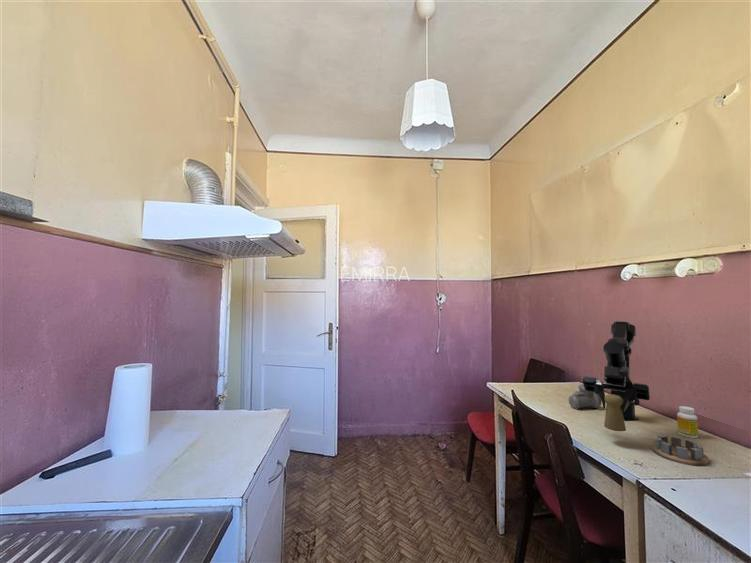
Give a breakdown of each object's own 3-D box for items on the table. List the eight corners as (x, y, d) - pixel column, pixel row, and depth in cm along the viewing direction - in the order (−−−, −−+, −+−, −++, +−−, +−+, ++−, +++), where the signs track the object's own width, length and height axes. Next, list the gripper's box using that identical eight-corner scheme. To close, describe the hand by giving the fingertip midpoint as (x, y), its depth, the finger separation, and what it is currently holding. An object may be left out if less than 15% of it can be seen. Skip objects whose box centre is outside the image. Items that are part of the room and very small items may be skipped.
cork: (626, 432, 108) (625, 398, 109) (604, 429, 111) (603, 396, 112) (624, 426, 113) (623, 394, 114) (603, 423, 116) (602, 391, 117)
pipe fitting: (588, 403, 154) (587, 381, 154) (602, 410, 146) (601, 387, 146) (565, 407, 152) (564, 385, 152) (579, 414, 144) (577, 392, 144)
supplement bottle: (693, 439, 115) (691, 411, 116) (674, 433, 120) (673, 406, 121) (701, 436, 117) (700, 409, 118) (683, 431, 122) (681, 404, 123)
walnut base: (673, 444, 111) (673, 441, 111) (720, 463, 98) (720, 460, 98) (641, 447, 109) (641, 444, 109) (685, 467, 96) (685, 464, 96)
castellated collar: (674, 443, 110) (674, 434, 110) (713, 458, 99) (712, 448, 99) (647, 445, 108) (647, 436, 108) (684, 461, 97) (683, 451, 97)
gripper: (582, 354, 123) (577, 390, 114) (647, 360, 110) (647, 402, 101) (587, 372, 128) (583, 408, 119) (649, 379, 116) (649, 420, 107)
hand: (613, 409), depth 112 cm, fingers closed on cork, 5 cm apart
